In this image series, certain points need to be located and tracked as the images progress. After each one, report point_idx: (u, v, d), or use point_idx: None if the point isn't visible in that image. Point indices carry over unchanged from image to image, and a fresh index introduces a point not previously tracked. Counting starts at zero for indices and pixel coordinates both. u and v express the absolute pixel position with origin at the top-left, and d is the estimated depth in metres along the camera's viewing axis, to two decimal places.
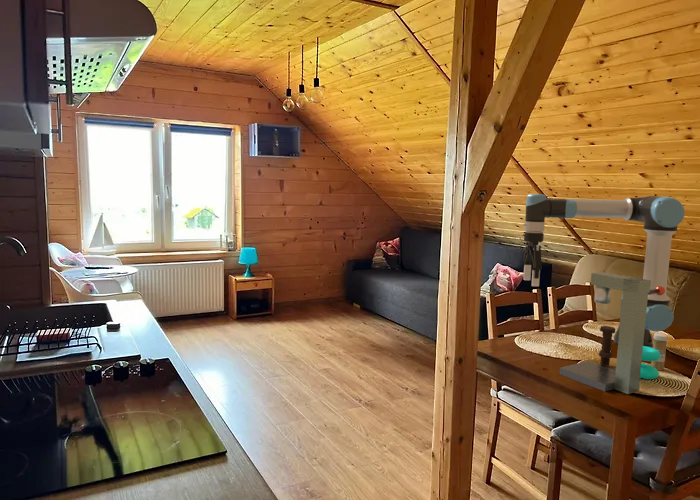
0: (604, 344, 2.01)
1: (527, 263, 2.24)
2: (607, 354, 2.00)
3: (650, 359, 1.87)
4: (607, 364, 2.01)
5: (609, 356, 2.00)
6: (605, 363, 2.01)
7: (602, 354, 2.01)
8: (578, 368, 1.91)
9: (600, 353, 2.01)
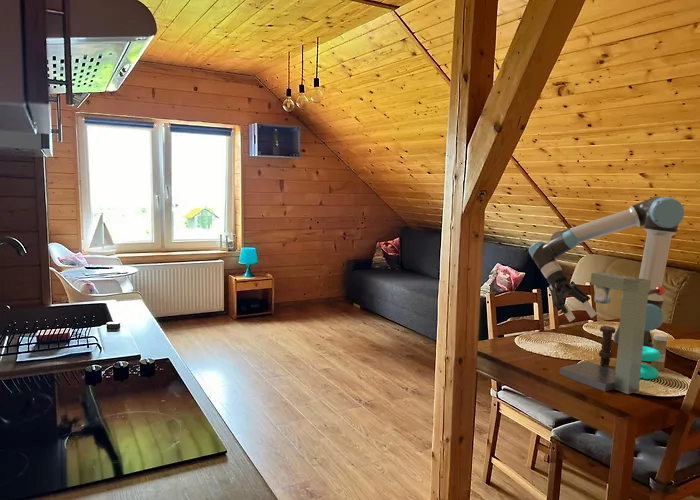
0: (604, 344, 2.01)
1: (584, 301, 2.17)
2: (607, 354, 2.00)
3: (650, 359, 1.87)
4: (607, 364, 2.01)
5: (609, 356, 2.00)
6: (605, 363, 2.01)
7: (602, 354, 2.01)
8: (578, 368, 1.91)
9: (600, 353, 2.01)
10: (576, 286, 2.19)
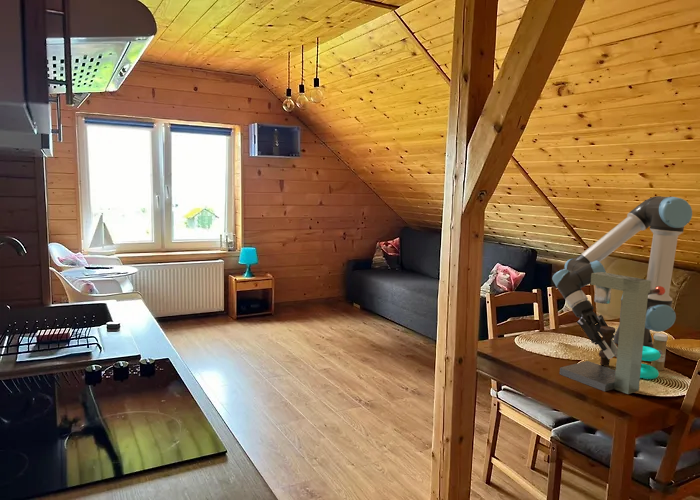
0: None
1: None
2: None
3: (650, 359, 1.87)
4: (607, 364, 2.01)
5: None
6: (605, 363, 2.01)
7: (602, 354, 2.01)
8: (578, 368, 1.91)
9: (600, 353, 2.01)
10: (603, 320, 2.08)
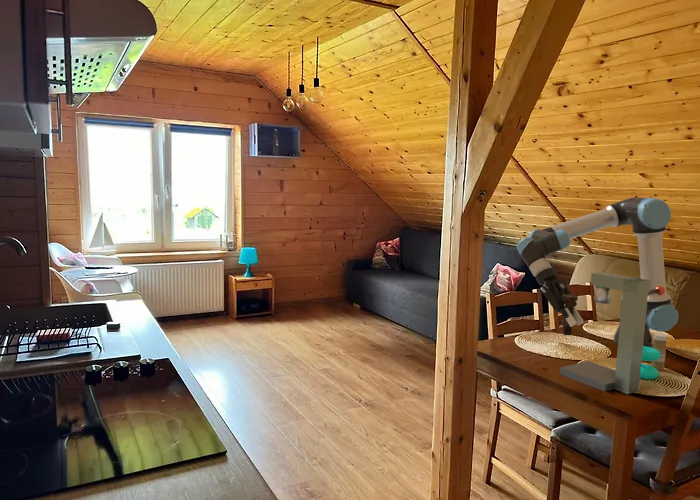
0: None
1: None
2: None
3: (650, 359, 1.87)
4: (569, 333, 1.96)
5: None
6: (567, 332, 1.96)
7: (564, 323, 1.96)
8: (578, 368, 1.91)
9: (562, 322, 1.96)
10: (567, 289, 2.03)
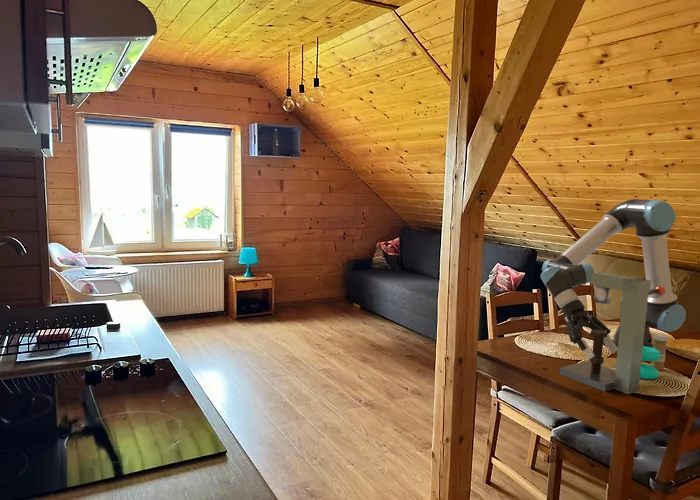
0: (595, 349, 1.86)
1: None
2: (598, 359, 1.85)
3: (650, 359, 1.87)
4: (598, 370, 1.87)
5: (600, 362, 1.85)
6: (596, 369, 1.87)
7: (593, 359, 1.86)
8: (578, 368, 1.91)
9: (591, 358, 1.87)
10: (595, 317, 1.95)
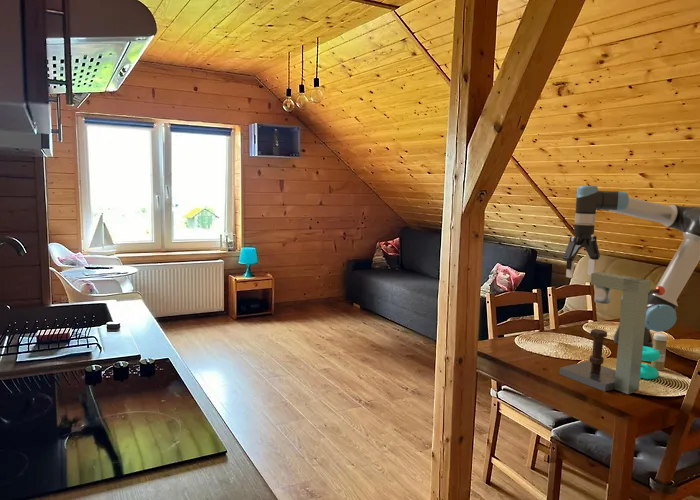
0: (595, 349, 1.86)
1: (592, 257, 2.17)
2: (598, 360, 1.85)
3: (650, 359, 1.87)
4: (598, 370, 1.87)
5: (600, 362, 1.85)
6: (596, 369, 1.87)
7: (593, 360, 1.86)
8: (578, 368, 1.91)
9: (591, 359, 1.87)
10: (595, 242, 2.15)
